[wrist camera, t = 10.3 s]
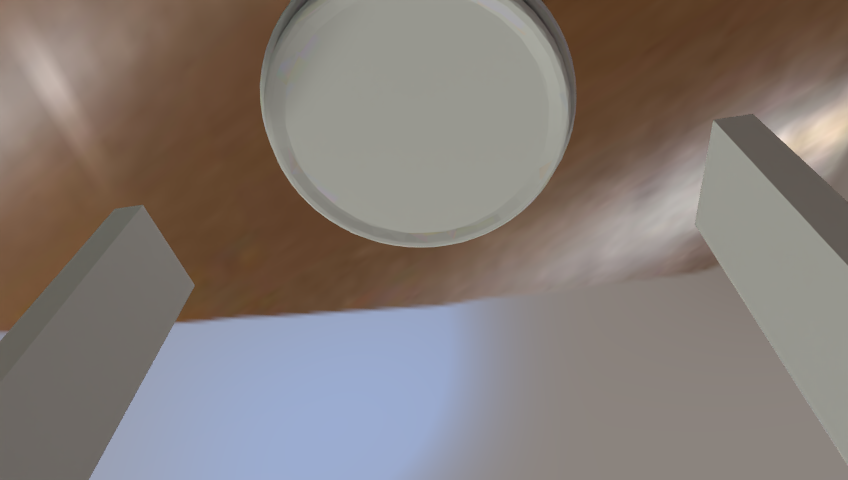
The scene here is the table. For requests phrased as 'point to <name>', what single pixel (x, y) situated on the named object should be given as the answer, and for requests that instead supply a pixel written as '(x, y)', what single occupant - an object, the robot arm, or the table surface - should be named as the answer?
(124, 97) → the table surface
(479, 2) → the coffee cup
